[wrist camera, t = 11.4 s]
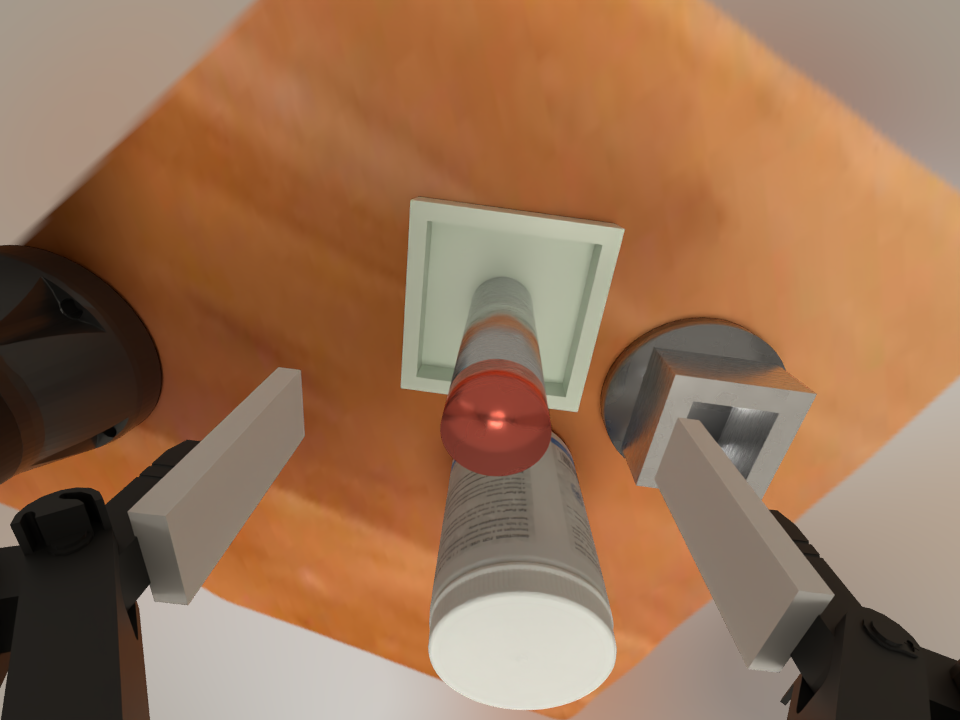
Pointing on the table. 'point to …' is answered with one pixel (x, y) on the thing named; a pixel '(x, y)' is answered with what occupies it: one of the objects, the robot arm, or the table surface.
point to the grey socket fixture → (703, 397)
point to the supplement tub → (520, 589)
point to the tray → (515, 254)
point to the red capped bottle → (498, 385)
